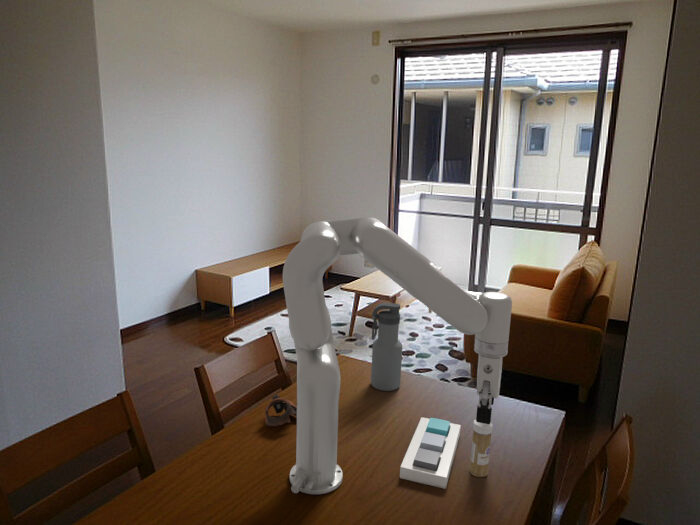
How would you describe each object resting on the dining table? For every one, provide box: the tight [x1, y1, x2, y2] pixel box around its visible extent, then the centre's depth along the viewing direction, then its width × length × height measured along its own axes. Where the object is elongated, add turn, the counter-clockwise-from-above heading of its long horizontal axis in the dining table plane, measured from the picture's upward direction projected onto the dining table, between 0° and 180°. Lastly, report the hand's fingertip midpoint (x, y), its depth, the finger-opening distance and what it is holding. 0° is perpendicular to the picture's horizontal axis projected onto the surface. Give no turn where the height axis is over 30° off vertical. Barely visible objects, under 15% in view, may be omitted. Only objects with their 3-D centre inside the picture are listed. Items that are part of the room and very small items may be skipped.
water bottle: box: [370, 302, 403, 392], centre depth 169 cm, size 10×10×28 cm
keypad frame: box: [399, 416, 462, 490], centre depth 133 cm, size 25×11×3 cm, turn 161°
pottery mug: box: [264, 394, 297, 427], centre depth 147 cm, size 12×10×8 cm
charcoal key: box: [414, 448, 440, 471], centre depth 126 cm, size 5×5×2 cm
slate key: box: [420, 432, 445, 453], centre depth 133 cm, size 5×5×2 cm
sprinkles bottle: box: [468, 419, 494, 478], centre depth 126 cm, size 5×5×13 cm
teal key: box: [426, 417, 451, 437], centre depth 140 cm, size 5×5×2 cm
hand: (485, 412), depth 124 cm, fingers open, 9 cm apart
